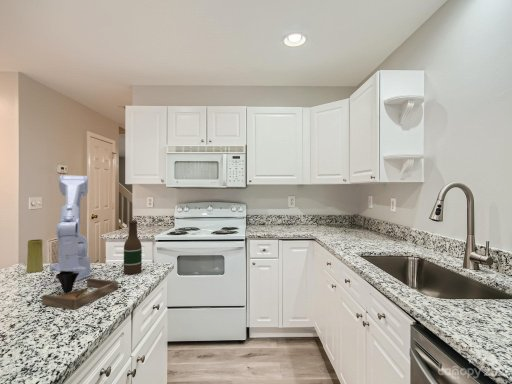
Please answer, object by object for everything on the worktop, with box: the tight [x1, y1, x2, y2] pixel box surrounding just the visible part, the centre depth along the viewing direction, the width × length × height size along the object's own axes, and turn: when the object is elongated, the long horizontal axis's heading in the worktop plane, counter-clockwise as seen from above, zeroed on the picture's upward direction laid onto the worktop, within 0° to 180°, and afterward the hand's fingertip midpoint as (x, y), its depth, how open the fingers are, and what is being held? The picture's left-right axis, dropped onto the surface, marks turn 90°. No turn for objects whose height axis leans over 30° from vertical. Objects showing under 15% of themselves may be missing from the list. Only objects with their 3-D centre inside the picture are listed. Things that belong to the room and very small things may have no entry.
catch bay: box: [41, 277, 119, 310], centre depth 93 cm, size 18×14×3 cm
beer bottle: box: [123, 219, 143, 276], centre depth 121 cm, size 8×8×24 cm
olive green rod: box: [25, 238, 44, 274], centre depth 122 cm, size 6×6×14 cm
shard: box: [58, 287, 89, 299], centre depth 92 cm, size 11×8×2 cm
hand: (67, 292), depth 95 cm, fingers closed
